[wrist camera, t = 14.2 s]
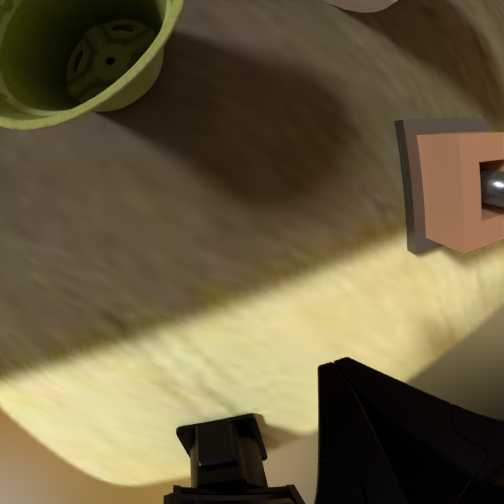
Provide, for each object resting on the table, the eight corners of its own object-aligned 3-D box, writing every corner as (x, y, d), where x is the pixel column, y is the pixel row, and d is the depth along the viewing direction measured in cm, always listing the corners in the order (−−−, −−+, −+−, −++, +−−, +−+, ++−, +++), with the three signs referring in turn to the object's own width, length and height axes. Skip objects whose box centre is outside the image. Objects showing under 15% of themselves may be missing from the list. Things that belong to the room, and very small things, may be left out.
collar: (486, 219, 20) (522, 231, 16) (425, 237, 20) (463, 254, 16) (481, 131, 18) (519, 132, 14) (416, 135, 18) (457, 134, 14)
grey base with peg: (485, 226, 22) (541, 246, 15) (407, 249, 21) (467, 281, 15) (478, 119, 19) (539, 119, 13) (394, 121, 18) (461, 113, 12)
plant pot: (209, 4, 15) (217, -84, 6) (174, 148, 17) (147, 138, 9) (70, 1, 13) (13, -62, 5) (33, 135, 15) (-59, 131, 7)
